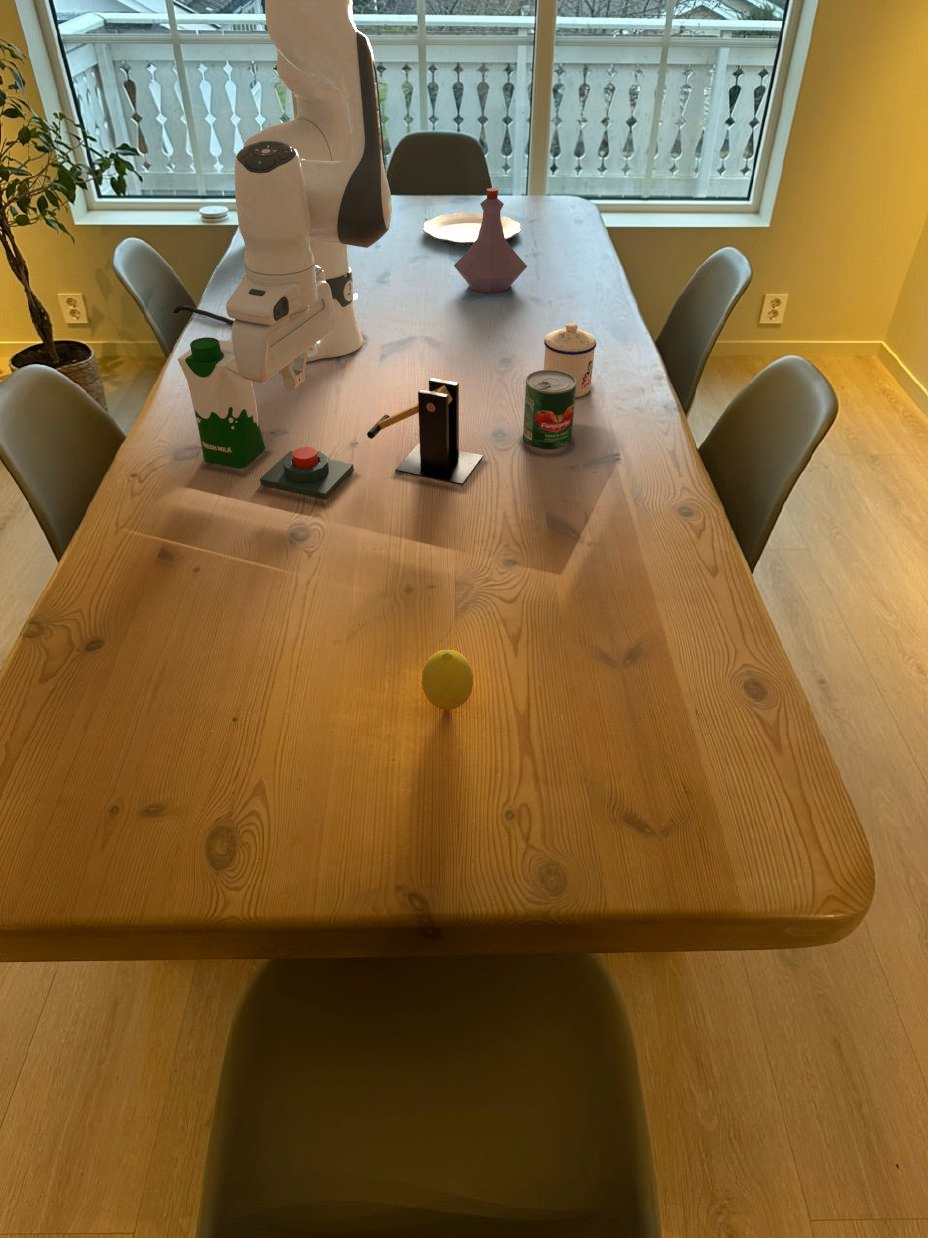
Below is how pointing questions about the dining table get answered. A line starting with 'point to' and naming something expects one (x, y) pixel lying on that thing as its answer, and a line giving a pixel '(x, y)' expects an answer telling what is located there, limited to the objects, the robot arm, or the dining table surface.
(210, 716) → the dining table surface
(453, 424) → the lever stand
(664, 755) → the dining table surface
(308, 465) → the button
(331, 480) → the button housing
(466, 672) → the lemon
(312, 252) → the robot arm
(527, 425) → the canned tomato
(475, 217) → the plate
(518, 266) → the flask
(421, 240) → the dining table surface
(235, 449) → the milk carton
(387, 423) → the tap lever
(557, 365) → the teacup with lid
